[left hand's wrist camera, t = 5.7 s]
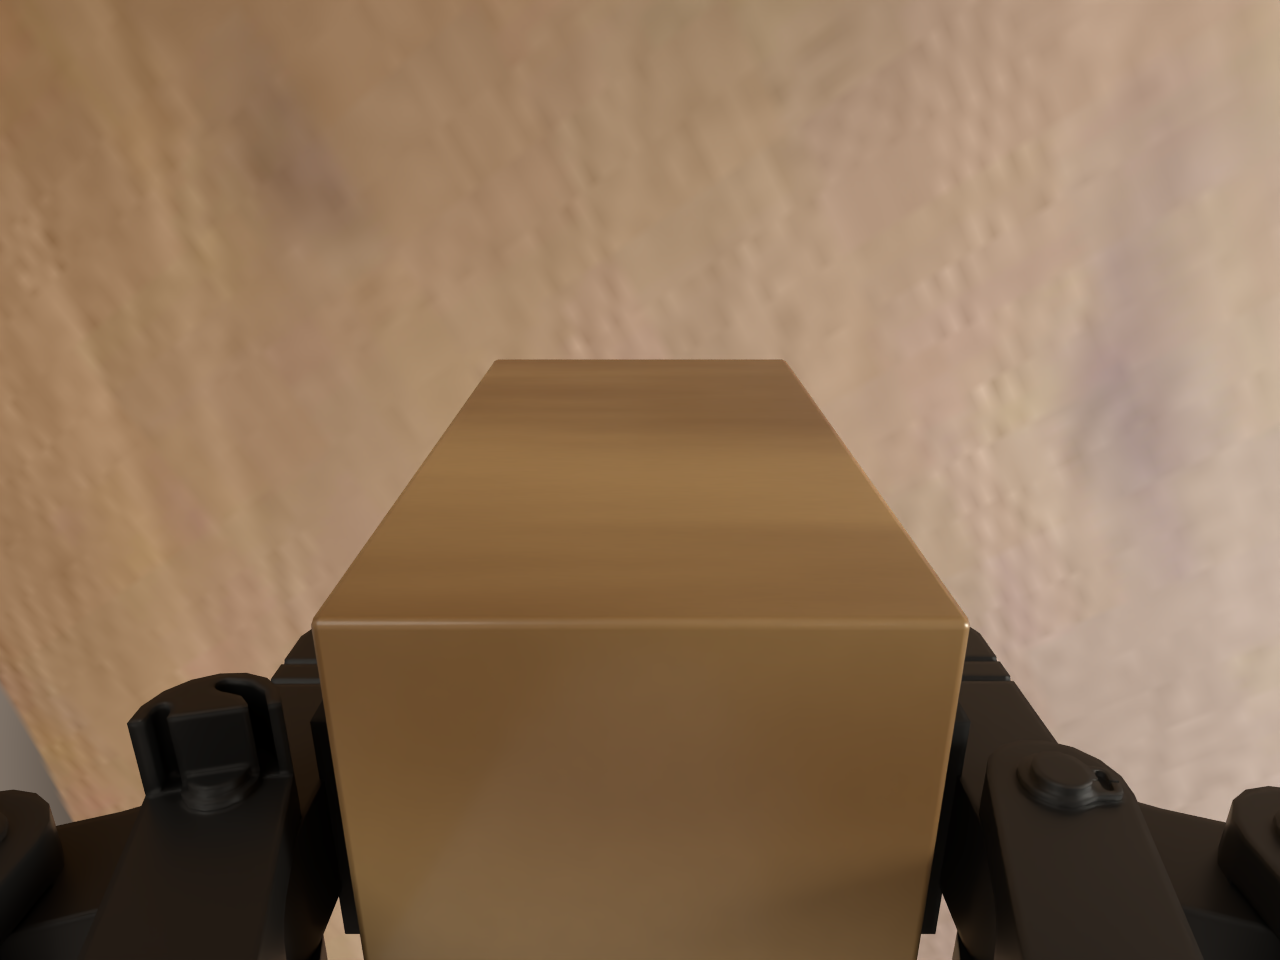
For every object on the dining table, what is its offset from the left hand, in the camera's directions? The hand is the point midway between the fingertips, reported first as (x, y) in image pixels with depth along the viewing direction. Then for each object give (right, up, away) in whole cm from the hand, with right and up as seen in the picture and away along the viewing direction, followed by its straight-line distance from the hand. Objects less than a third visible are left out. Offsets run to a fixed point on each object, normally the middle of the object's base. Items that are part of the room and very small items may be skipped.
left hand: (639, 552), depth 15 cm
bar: (0, -8, +4) cm, 9 cm away
